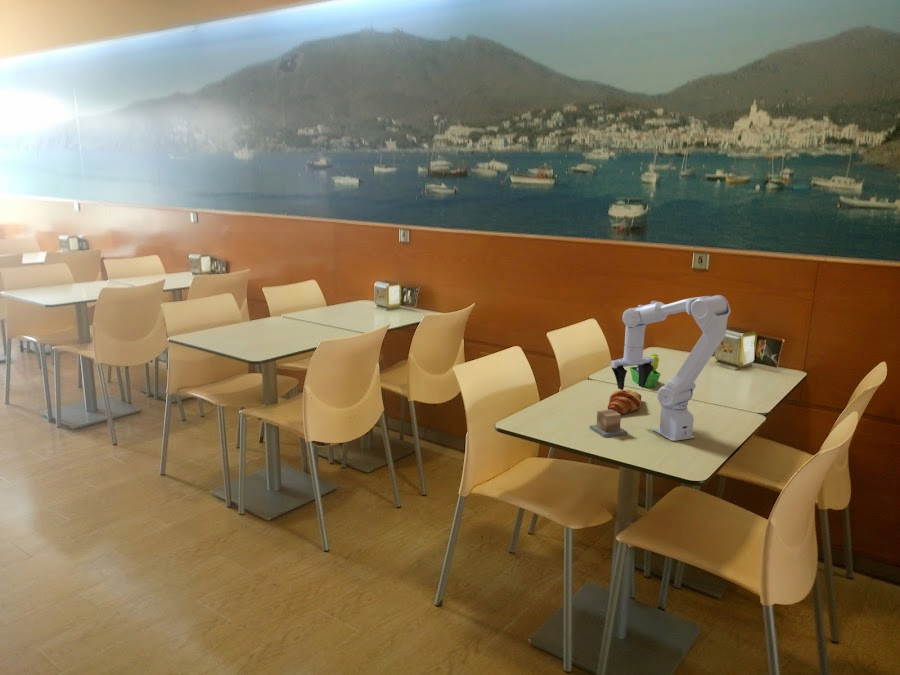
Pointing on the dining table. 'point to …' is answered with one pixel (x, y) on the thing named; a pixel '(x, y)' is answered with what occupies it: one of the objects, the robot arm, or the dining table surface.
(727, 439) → the dining table surface
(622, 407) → the croissant
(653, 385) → the fruit basket
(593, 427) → the slate coaster
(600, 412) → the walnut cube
